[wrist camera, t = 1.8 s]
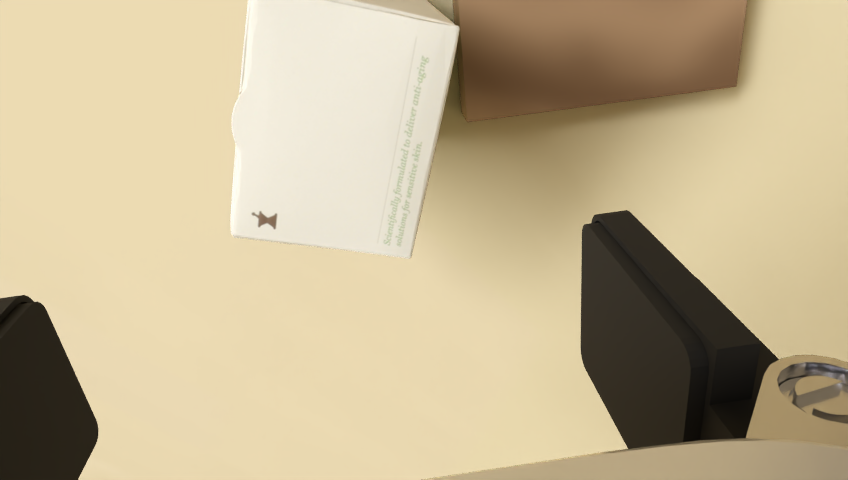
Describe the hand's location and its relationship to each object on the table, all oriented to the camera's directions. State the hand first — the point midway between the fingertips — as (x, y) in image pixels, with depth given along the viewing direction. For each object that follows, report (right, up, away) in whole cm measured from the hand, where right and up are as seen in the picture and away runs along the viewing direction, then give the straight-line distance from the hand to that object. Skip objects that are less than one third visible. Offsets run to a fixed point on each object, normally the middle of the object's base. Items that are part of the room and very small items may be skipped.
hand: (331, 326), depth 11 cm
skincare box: (-3, +12, +22) cm, 25 cm away
